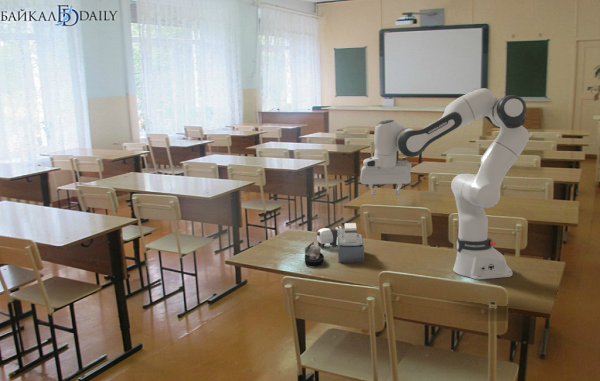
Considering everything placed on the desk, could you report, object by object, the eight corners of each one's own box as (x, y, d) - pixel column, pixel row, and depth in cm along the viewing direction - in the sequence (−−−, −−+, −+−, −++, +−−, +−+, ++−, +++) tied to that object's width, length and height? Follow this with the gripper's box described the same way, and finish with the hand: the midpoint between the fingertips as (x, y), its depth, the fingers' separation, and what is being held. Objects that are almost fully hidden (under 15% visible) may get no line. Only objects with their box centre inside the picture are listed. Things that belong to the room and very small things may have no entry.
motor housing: (362, 251, 246) (362, 233, 244) (364, 262, 232) (364, 243, 230) (338, 251, 247) (337, 233, 245) (338, 262, 232) (338, 243, 231)
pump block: (356, 238, 241) (355, 223, 240) (356, 243, 234) (356, 228, 232) (344, 238, 242) (344, 223, 240) (344, 243, 234) (344, 228, 232)
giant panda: (319, 249, 251) (319, 229, 249) (315, 246, 256) (314, 226, 254) (348, 245, 256) (348, 225, 254) (343, 241, 261) (343, 222, 259)
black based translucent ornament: (316, 273, 228) (298, 265, 233) (331, 260, 236) (313, 253, 241) (316, 260, 225) (297, 253, 230) (331, 247, 233) (312, 241, 238)
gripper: (410, 159, 219) (410, 192, 222) (359, 160, 220) (360, 193, 223) (412, 161, 212) (412, 195, 215) (360, 162, 214) (360, 196, 217)
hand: (385, 194), depth 219 cm, fingers open, 8 cm apart
